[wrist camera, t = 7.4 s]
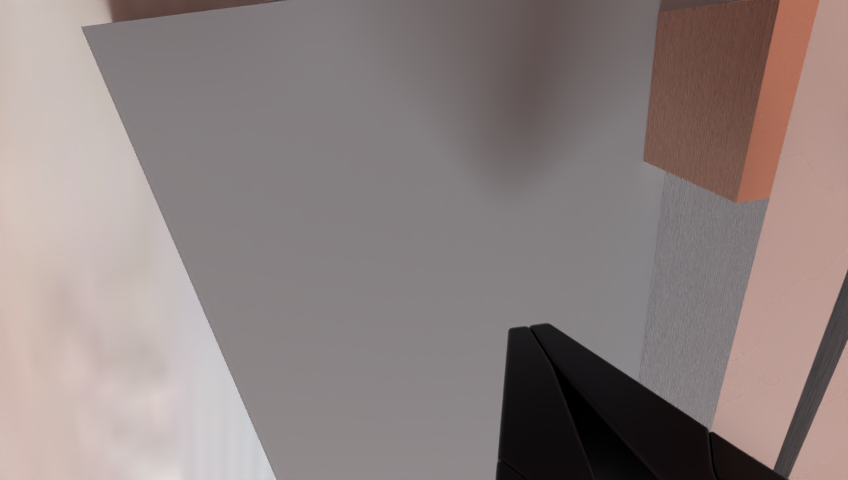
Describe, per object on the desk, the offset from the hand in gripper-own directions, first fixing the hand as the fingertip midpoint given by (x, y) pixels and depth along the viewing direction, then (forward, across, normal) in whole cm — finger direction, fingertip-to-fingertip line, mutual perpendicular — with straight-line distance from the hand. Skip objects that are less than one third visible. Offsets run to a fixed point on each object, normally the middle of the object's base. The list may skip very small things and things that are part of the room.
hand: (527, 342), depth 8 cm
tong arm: (+3, -7, +5) cm, 9 cm away
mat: (+4, -2, +4) cm, 6 cm away
